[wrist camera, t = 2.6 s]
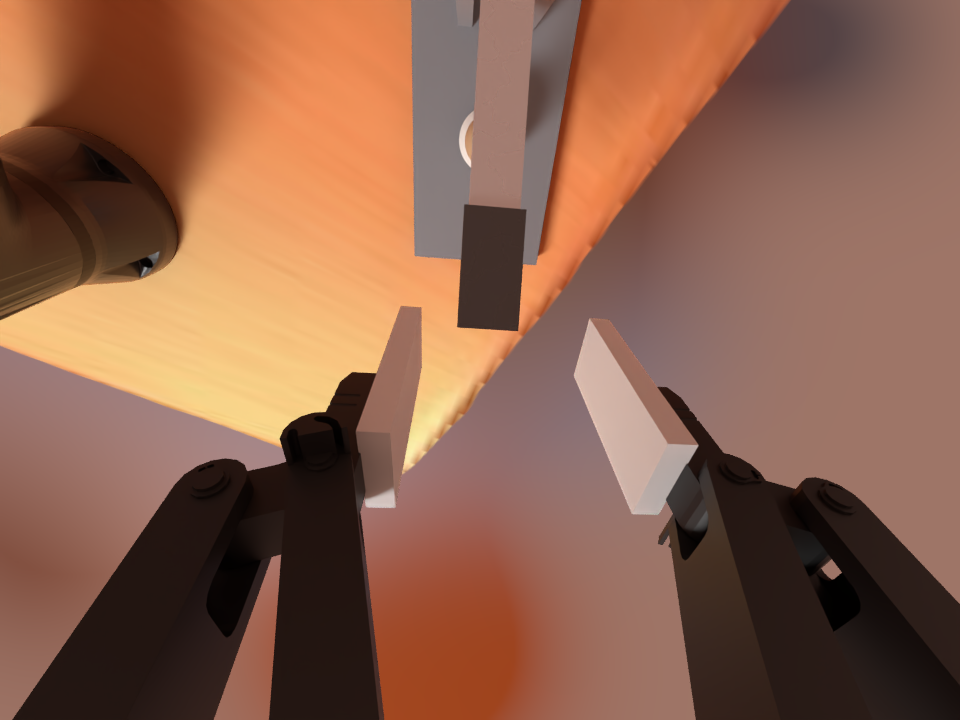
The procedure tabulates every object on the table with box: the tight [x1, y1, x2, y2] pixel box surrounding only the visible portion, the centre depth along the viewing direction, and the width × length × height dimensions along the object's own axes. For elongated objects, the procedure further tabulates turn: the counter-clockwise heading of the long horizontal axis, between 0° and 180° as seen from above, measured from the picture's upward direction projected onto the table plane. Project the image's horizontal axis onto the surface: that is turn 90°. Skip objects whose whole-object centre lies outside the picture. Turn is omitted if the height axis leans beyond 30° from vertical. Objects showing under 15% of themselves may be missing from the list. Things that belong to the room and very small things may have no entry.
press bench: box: [411, 0, 582, 265], centre depth 31 cm, size 14×26×14 cm, turn 175°
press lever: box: [457, 0, 535, 331], centre depth 22 cm, size 4×23×3 cm, turn 175°
